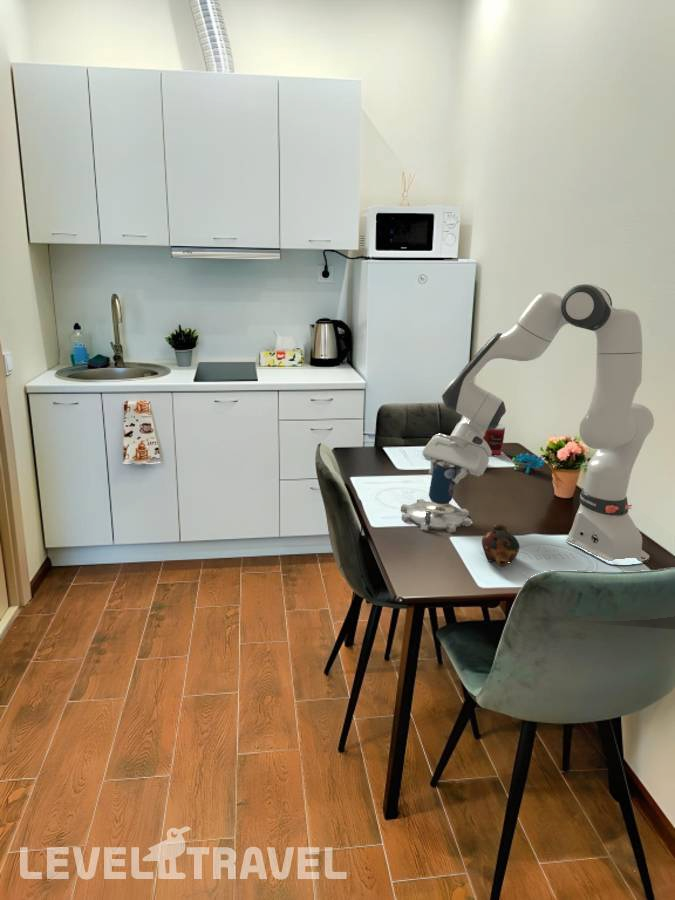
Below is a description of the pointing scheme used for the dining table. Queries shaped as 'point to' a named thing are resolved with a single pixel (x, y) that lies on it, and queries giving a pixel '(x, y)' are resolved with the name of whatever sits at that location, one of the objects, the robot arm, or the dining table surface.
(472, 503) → the dining table surface
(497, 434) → the canned food
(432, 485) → the soda can
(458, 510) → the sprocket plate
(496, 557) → the decorative turtle
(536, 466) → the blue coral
